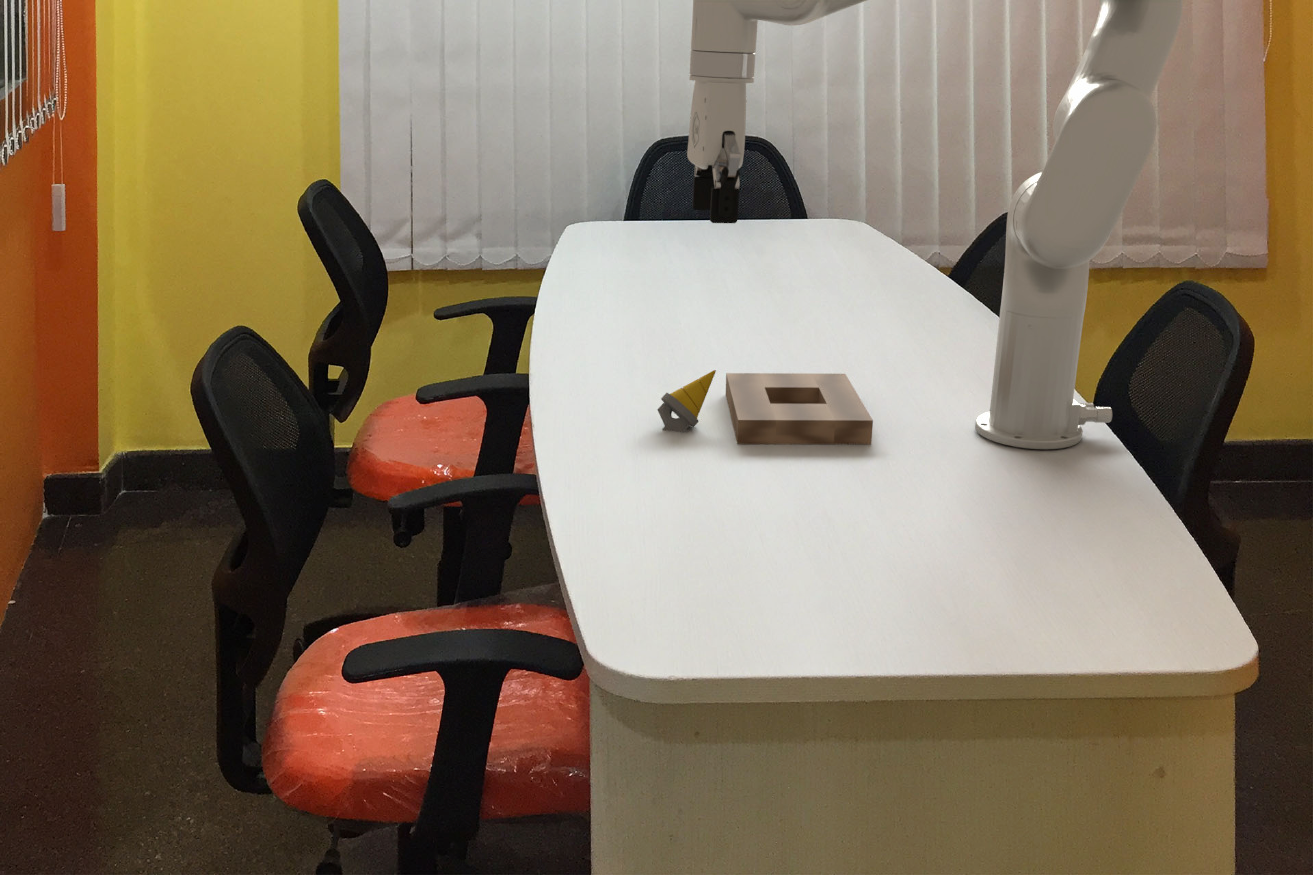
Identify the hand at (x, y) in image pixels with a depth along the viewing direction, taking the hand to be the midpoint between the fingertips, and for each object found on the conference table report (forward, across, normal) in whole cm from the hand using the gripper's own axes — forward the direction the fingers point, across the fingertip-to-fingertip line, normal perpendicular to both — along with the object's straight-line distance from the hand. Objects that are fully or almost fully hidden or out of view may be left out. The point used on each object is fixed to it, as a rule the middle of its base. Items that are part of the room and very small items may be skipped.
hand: (713, 216), depth 145 cm
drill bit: (+26, +4, -3) cm, 26 cm away
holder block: (+25, +3, +11) cm, 27 cm away
